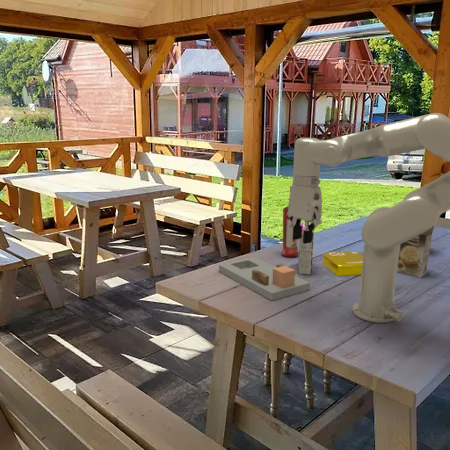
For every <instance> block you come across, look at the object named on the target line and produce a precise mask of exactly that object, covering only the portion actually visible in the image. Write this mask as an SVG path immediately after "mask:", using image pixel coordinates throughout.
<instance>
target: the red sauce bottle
mask: <svg viewBox="0 0 450 450" xmlns="http://www.w3.org/2000/svg"><path fill="white" fill-rule="evenodd" d="M291 186H292V185H290V186H289V192H290V191H291ZM288 210H289V205H287V206H284V208H282V250H281V253H282V254H283V256H284V257H287V258H294V257H296V256H298V255H299V243H300V239H296V240H293V226H292V222H291V220H290V218H289V217H288V215H287V212H288Z"/></svg>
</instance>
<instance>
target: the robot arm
mask: <svg viewBox="0 0 450 450" xmlns="http://www.w3.org/2000/svg"><path fill="white" fill-rule="evenodd" d="M293 149H294V150H293V155H294V156H293V172H292V184H291V185H290V186H291V191H290V190H289V196H288V197H289V198H288V206H289V210H288V212H287V215H288V217H289V218H290V220H291V222H292V226H293V240H296V239H299V240H300V239H301V238H302V226H301V223H302V221H304V223H305V230H304V232H303V243H304V244H306V243H311V242H312V235H313V230H314V231H315V229H316V228H317V226H319V225H321V224H322V214H323V213H322V211H323V203H322V202H323V201H322V200H323V197H322V195H323V194H322V189H321V186H320V185H319V184H321V180H320V171H321V170H320V169H321V166H323V167H328V168H329V167H332V168H333V167H338V166H340V165H341V164H343V163H346V162H350V161H355V160H358V159H363V158H370V157H392V156H397V155H402V154H406V153H412V152H416V151H421V150H422V151H423V150H427V151H429V152H430V153H432V154H433V155H435V156H437V157H438V158H441V159H442V160H444V161H446V162H448V163H450V118H449V117H448V116H447V115H445V114H443V113H441V112H433V113H432V112H431V113H429V114H424V115H420V116H416V117H415V116H414V117H411V118H406V119H403V120H399V121H398V120H397V121H393V122H389V123H386V124H382V125H378V126H376V127H373V128H371V129H367V130H363V131H359V132H355V133H349V134H345V135H341V136H338V137H333V138H329V139H323V140H322V139H321V140H320V139H319V138H316V137H300V138H297V139H296V140H295V142H294V148H293ZM449 210H450V170H449V171H448V172H446V173H445V174H442V175H441V176H439V177H438V178H436V179H434V180H432V181H430V182H429V183H427V184H424V185H423V186H421V187H419V188H417V189H415V190H414V189H413V190H412V191H410V192H408V193H407V194H406V195H405V196H404V198H403V199H402V200H401V201H399V202H398V203H396V204H394V205H392V206H391V207H387V206H385V207H384V206H383V207H378V208H376V209H374V210H373V211H371V212H370V213H369V215H368V217H367V218H366V219H365V221H364V223H363V225H362V227H361V239H362V241H363V243H364V246H363V254H362V255H363V262H362V272H361V275H360V286H359V294H358V302H356V303H354V304H353V305H352V313H353V314H354V315H355V316H357V318H359V319H362V320H364V321H368V322H371V323H378V324H379V323H391V322H394V321H395V320H396V321H398V322H401V320H402V319H403V315H404V311H403V310H400V309H398V308H397V304H398V303H397V302H395V301H394V299H395V291H396V282H397V273H398V272H397V266H398V259H399V251H400V244H402V243H404V242H406V241H408V240H410V239H412V238H414V237H416V236H418V235H420V234H422V233H424V232H426V231H427V230H429V229H430V228H431V227H433V226H434V227H435V225H436V224H437V222H438V221H439V220H440V219H439V218H440V216H441V215H443V214H444V213H445V212H448V211H449ZM309 223H310V225H309Z"/></svg>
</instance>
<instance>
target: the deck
mask: <svg viewBox="0 0 450 450" xmlns="http://www.w3.org/2000/svg"><path fill="white" fill-rule="evenodd" d="M243 267H244V268H245V269H242V268H243ZM247 267H248V268H247ZM273 268H276V266H275V265H272V264H270V263H268V262H266V261H263V260H261V259H259V258H257V257H255V256H254V257H250V258H245V259H244V258H243V259H239V260H236V261H231V262H226V263H221V264H218V272H220V273H221V274H223V275H225V276H226V277H228V278H229V279H232V280H234V281H236V282H238V283H239V284H241V285H243V286H245V287H246V288H248V289H249V290H251V291H254V292H255V293H257V294H258V295H261V296H262V297H265V298H266V299H267V300H270V301H271V302H273V301H276V300H279V299H283V298H288V297H289V296H290V297H291V296H294V295H297V294H300V293H304V292H307V291H310V290H311V282H309V281H306V280H305V279H302V278H301V277H298V276H296V275H295V282H294V285H292V286H288V287H284V288H281V287H279V286H278V285H276V284H274V283H272V282H273ZM255 269H256V270H258V271H260V272H262V273H264V274H266V275H268V276H269V285H263V284H261V283H259V282H257V281H255V280H253V279H252V270H255Z"/></svg>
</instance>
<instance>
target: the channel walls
mask: <svg viewBox="0 0 450 450" xmlns="http://www.w3.org/2000/svg"><path fill="white" fill-rule="evenodd" d="M282 266H285V265H284V264H281V263H277V264H276V266H275V267H276V268H277V267H282ZM252 279H253V280H255V281H257V282H259V283H261V284H263V285H269V276H268V275H266V274H264V273H262V272H260V271H258V270H256V269H255V270H252Z"/></svg>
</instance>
